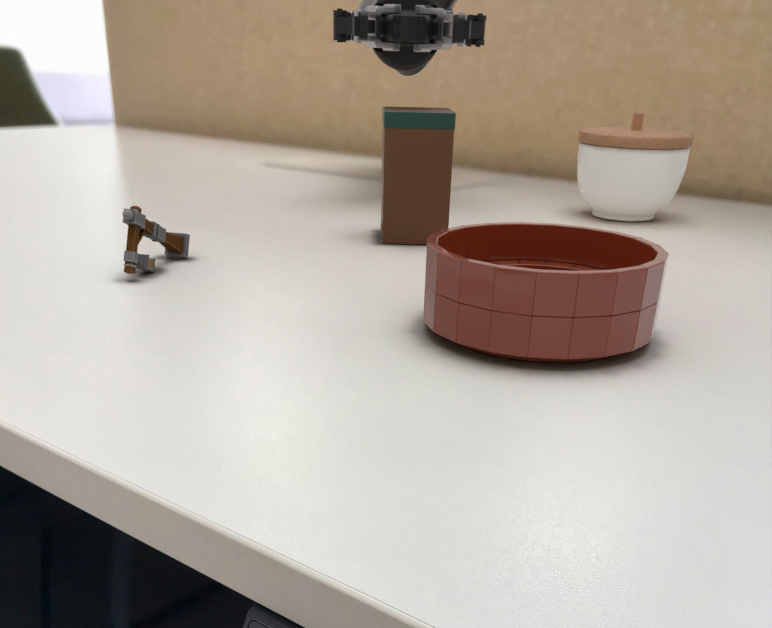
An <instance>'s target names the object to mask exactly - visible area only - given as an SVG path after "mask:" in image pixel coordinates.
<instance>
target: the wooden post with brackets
mask: <svg viewBox="0 0 772 628" xmlns="http://www.w3.org/2000/svg"><path fill="white" fill-rule="evenodd" d="M142 211H143V209H142V208H141V207H140V206H138V205H132V206H130V207H129V208H123V211H122V224H126V225H127V236H126V245H125V250H123V259H122V260H123V262H124V263H123V273H126V274H129V275H136V273H137V271H136V270H141V272H150V273H155V269H156V258H151V257H150V254H145V253H144V254H142V253H138V247H139V244H140V243H141V241H142V239H143V237H144V238H148V239H149V240H151V241H152V242H154V243H159V244H160V245H161V246H162V247H163V248H164V253H163V254H164V256H165V257H166V258H175V259H176V258H178V259H189V253H190V252H189V250H190V238H191V233H185V232H170V231H167V228H165V227H163V226H161V225H160V224H159V223H158V222H156V221H150V220H149V219H147V215H146V214H143V213H142Z"/></svg>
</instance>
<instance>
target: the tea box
mask: <svg viewBox="0 0 772 628" xmlns="http://www.w3.org/2000/svg"><path fill="white" fill-rule="evenodd" d="M381 118H382V119H381V122H382V136H381V137H382V139H381V140H382V141H381V187H380V188H381V189H380V190H381V191H380V192H381V193H380V237H381V244H384V245H385V244H388V245H427V240H428V237H429V236H430V235H432V234H434V233H436V232H438V231H440V230H443V229H447V228H450V227H449V226H450V225H449V224H450V211H451V209H450V208H451V206H450V205H451V194H452V193H451V191H452V175H453V158H454V157H453V156H454V142H455V141H454V140H455V130H456V120H457V119H456V118H457V113H456V112H455V111H453V110H452V109H450V108H449V107H419V106H416V107H415V106H382V110H381Z"/></svg>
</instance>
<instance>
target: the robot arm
mask: <svg viewBox="0 0 772 628" xmlns="http://www.w3.org/2000/svg"><path fill="white" fill-rule="evenodd" d="M458 1H459V0H361V1H360V3H359V4H358V7H357V8H356V9H355V10H352V11H348V10H346V9H343V8H340V7H339V8H338V7H337V8H336V9H333V10H332V14H333V15H332V37H333V38H332V40H333V41H336V43H347V42H355V43H356V44H362V43H363V44H364V45H365V47H366V48H370V49H372V51H373V53H374V54H375V56H376V57H377V58H378V59H379V61H381V62H382V63H383V64H384V65H385V66H387V67H388V68H391V69H393V70H394V71H395V72H397V73H398V74H399V75H401V76H403V77H407V78H408V77H415V76H417V75H419V74H420V73H422V72H423V71H425V70H426V68H427V67H428V66H429V64H430V63H431V62H432V59H433V58H434V56H435V55H436V53H437V52H438V51H450V50H451V49H452V46H453V45H456V47H463V45H465V46H466V47H472V46H474V47H475V48H481V47H482V46H485V43H486V42H485V41H486V40H485V35H486V34H485V33H486V24H487V23H486V22H487V16H488V15H485V14H484V13H483V12H482V13H481V12H480V13H479V12H477V14H467V13H465V12H461V11H459V12H458V13H454V8H455V5H456V4H457V3H458Z"/></svg>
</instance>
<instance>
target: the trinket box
mask: <svg viewBox="0 0 772 628" xmlns="http://www.w3.org/2000/svg"><path fill="white" fill-rule="evenodd" d="M644 119H645V112H633V113H632V120H631V126H591V127H583V128H582V129H580V130H579V131H578V138H577V141H578V148H577V157H576V176H577V177H576V178H577V186H578V190H579V193H580V195H581V197H582V199H583V200H584V203H585V205H587V206H588V207H589V209H590V210H591V215H592V216H593V217H596V218H600V219H604V220H610V221H617V222H646V221H647V222H648V221H652V220H654V219H655V215H656V214H658V213H659V212H660V211H662V210H663V209H664V208H665V207H666V206H668V204H669V203H671V201H672V200H673V198H674V197H675V196H676V194H677V192H678V190H679V189H680V187H681V184H682V181H683V179H684V176H685V173H686V170H687V166H688V162H689V156H690V151H691V147H692V146H693V143H694V135H693V134H692V133H691V132H687V131H682V130H673V129H666V128H657V127H656V128H654V127H643V124H644Z"/></svg>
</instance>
